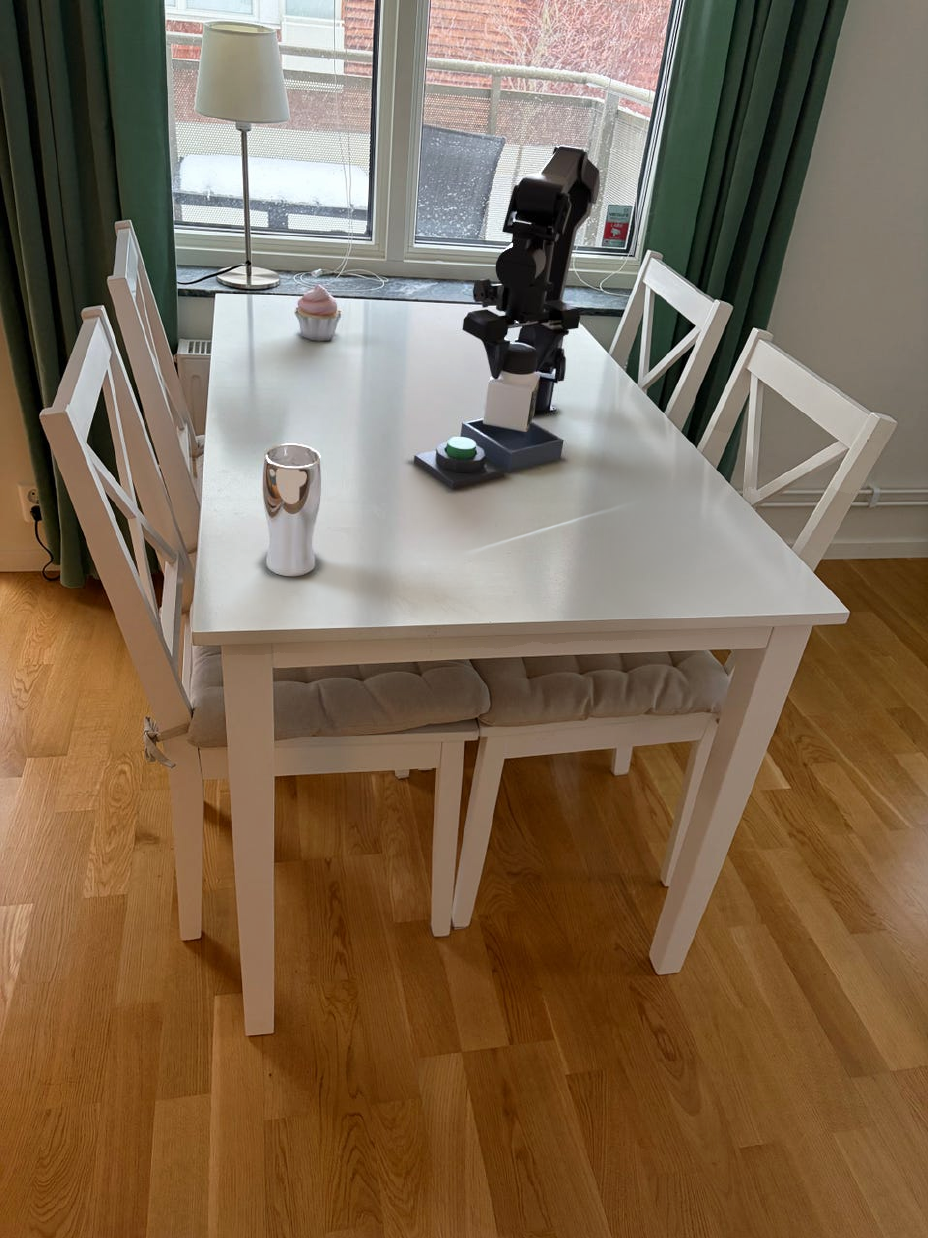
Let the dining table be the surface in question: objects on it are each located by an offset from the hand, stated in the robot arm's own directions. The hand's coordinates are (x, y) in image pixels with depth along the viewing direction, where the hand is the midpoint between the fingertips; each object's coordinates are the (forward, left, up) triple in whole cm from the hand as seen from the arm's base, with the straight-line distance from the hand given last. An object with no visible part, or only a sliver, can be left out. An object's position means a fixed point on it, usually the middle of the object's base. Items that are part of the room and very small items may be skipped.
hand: (515, 374), depth 154 cm
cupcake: (+1, -56, -13) cm, 58 cm away
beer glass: (+47, +15, -13) cm, 51 cm away
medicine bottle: (0, 0, -8) cm, 8 cm away
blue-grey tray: (-1, +1, -13) cm, 13 cm away
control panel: (+11, +3, -13) cm, 17 cm away
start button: (+11, +3, -10) cm, 15 cm away
